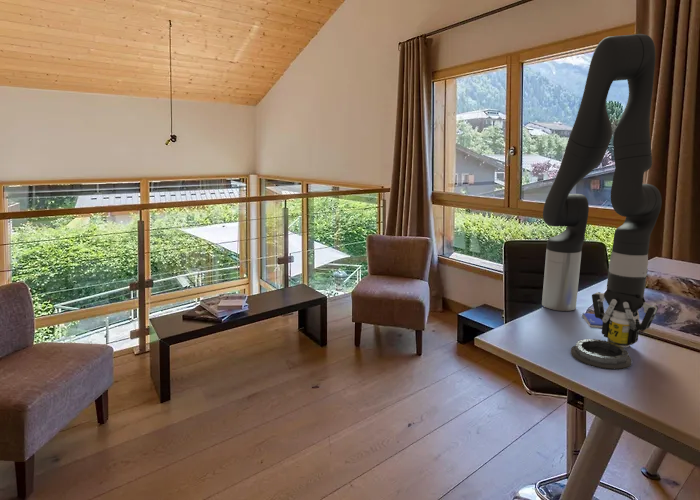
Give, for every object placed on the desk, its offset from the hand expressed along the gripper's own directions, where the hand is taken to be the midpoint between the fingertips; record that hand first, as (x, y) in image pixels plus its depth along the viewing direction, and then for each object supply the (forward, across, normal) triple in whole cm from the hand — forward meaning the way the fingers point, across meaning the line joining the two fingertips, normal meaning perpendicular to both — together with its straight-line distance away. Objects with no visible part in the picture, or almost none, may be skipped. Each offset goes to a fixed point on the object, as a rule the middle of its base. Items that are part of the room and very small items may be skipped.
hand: (618, 339), depth 107 cm
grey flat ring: (+1, +1, -11) cm, 11 cm away
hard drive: (+2, -7, +12) cm, 14 cm away
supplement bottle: (+1, 0, 0) cm, 1 cm away
